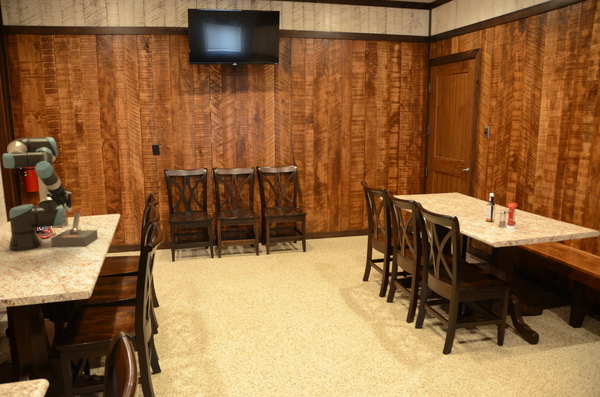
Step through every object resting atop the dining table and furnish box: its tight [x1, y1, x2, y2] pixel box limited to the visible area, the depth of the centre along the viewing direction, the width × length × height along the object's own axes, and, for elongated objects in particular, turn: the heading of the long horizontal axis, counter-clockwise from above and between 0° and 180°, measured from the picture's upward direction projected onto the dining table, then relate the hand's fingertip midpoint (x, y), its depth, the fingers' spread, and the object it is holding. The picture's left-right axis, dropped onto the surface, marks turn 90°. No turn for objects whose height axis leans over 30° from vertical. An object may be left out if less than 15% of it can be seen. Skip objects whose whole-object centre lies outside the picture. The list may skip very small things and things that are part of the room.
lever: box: [70, 208, 83, 233], centre depth 273 cm, size 4×3×14 cm
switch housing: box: [51, 228, 99, 248], centre depth 271 cm, size 18×18×8 cm
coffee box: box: [53, 208, 69, 228], centre depth 312 cm, size 9×6×16 cm
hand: (70, 210), depth 265 cm, fingers closed
